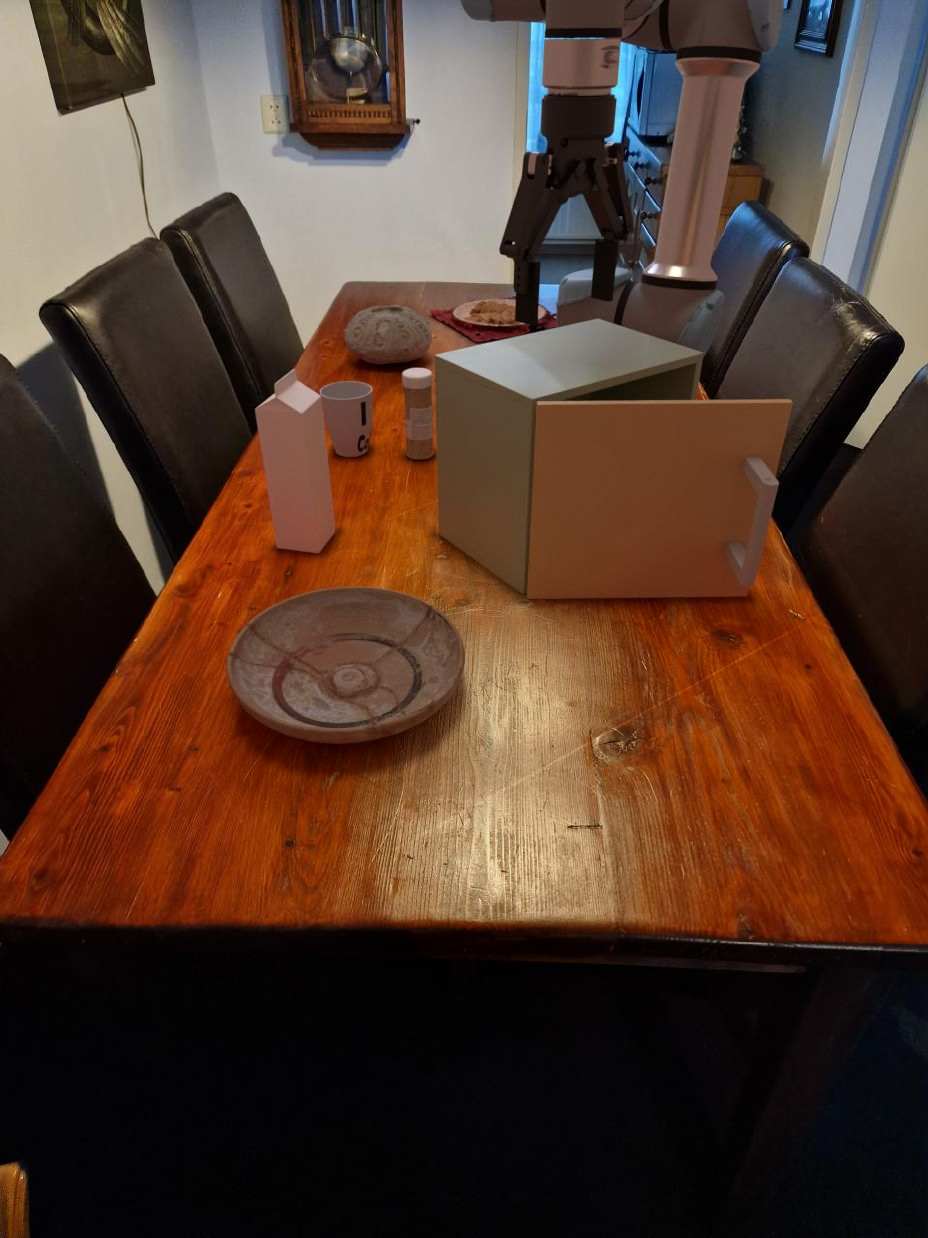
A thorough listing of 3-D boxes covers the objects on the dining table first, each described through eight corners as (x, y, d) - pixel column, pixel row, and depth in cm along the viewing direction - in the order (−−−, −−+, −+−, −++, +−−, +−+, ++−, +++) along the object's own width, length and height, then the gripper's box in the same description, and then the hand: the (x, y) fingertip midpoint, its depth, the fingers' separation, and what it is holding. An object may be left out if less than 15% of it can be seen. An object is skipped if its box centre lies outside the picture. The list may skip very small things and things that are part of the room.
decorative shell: (440, 369, 164) (439, 318, 158) (352, 377, 160) (348, 325, 155) (422, 343, 178) (421, 295, 172) (341, 350, 175) (336, 301, 169)
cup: (368, 462, 128) (363, 400, 122) (319, 458, 129) (311, 397, 123) (382, 442, 134) (378, 382, 128) (335, 438, 135) (329, 379, 130)
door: (765, 630, 91) (818, 428, 77) (532, 633, 91) (544, 430, 77) (744, 592, 97) (789, 398, 84) (526, 594, 97) (536, 401, 83)
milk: (276, 548, 106) (248, 382, 93) (295, 526, 111) (271, 365, 98) (320, 554, 105) (297, 386, 92) (337, 531, 110) (318, 369, 97)
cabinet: (674, 532, 109) (704, 352, 96) (523, 595, 97) (532, 399, 83) (583, 484, 121) (598, 318, 107) (438, 534, 109) (434, 354, 95)
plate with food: (514, 303, 206) (514, 289, 204) (569, 327, 186) (570, 311, 184) (428, 317, 197) (427, 302, 195) (476, 342, 178) (476, 326, 176)
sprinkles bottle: (406, 449, 132) (403, 366, 124) (434, 449, 132) (432, 366, 124) (404, 461, 128) (400, 376, 120) (433, 461, 128) (431, 376, 120)
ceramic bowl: (262, 802, 71) (253, 761, 68) (216, 651, 88) (207, 613, 85) (503, 728, 78) (504, 688, 75) (416, 602, 96) (414, 566, 93)
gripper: (524, 99, 72) (516, 341, 85) (681, 87, 87) (655, 295, 99) (464, 96, 77) (466, 326, 89) (623, 85, 91) (605, 284, 103)
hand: (565, 310), depth 94 cm, fingers open, 13 cm apart
